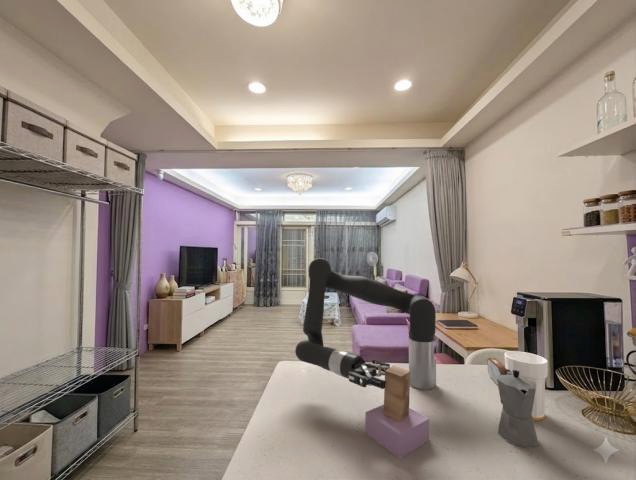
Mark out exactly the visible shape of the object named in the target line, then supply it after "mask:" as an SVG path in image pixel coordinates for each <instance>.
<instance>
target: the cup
mask: <svg viewBox="0 0 636 480" xmlns="http://www.w3.org/2000/svg"><path fill="white" fill-rule="evenodd" d="M504 366H505V368H506V369H508V370H510V371H511V372H513V370H517V371H519V377H523V378H526V379H528V380H530V381H532V382H534V383H535V384H536V390H535V397H534V403H533V410H532V416H533V421H534V422H535V421H536V422H537V421H542V420H544V419H545V414H546V413H545V410H546V408H545V407H546V405H545V404H546V403H545V402H546V378H548V373H549V372H548V371H549V370H548V369H549V368H548V367H549V365H548V359H546V357H543V356H540V355H538V354H534V353H531V352H525V351H518V350H513V351H512V350H510V351H505V352H504Z"/></svg>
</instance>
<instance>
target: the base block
mask: <svg viewBox="0 0 636 480" xmlns="http://www.w3.org/2000/svg"><path fill="white" fill-rule="evenodd" d="M364 418H365V423H364V424H365V434H366V435H367V436H369V437H370V438H371V439H374V440H375V442H377V443H379V444H380V445H381V446H383V447H384V448H385V449H387V450H388V451H389V452H391V453H392V454H394V455H395V456H397V457H398V458H399V459H401V458H403V457H404V456H406V455H409V453H411V452H412V451H414V450H416V449H417V448H419V447H421V446H422V445H424V444H426V443H427V442H429V441H430V418H429V417H427V416H425V415H424V414H421V413H420V412H418V411H416V410H414V409H412V408H410V407H409V415H408V416H407V417H406V418H404V419H403V420H402V421H401V422H399V421H397V420H395V419H393V418H391V417H388V416H386V415H384V403H383V404H381V405H379V406H376V407H374V408H372V409H369V410H367V411H365V417H364Z"/></svg>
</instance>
